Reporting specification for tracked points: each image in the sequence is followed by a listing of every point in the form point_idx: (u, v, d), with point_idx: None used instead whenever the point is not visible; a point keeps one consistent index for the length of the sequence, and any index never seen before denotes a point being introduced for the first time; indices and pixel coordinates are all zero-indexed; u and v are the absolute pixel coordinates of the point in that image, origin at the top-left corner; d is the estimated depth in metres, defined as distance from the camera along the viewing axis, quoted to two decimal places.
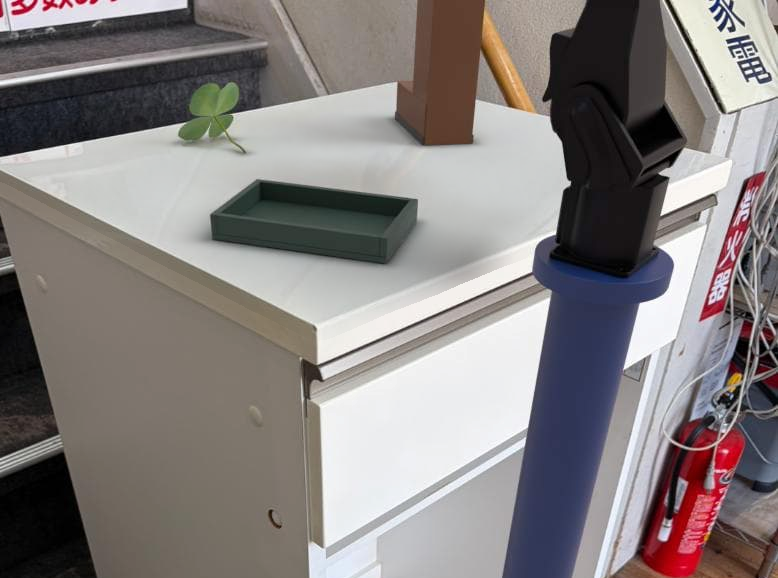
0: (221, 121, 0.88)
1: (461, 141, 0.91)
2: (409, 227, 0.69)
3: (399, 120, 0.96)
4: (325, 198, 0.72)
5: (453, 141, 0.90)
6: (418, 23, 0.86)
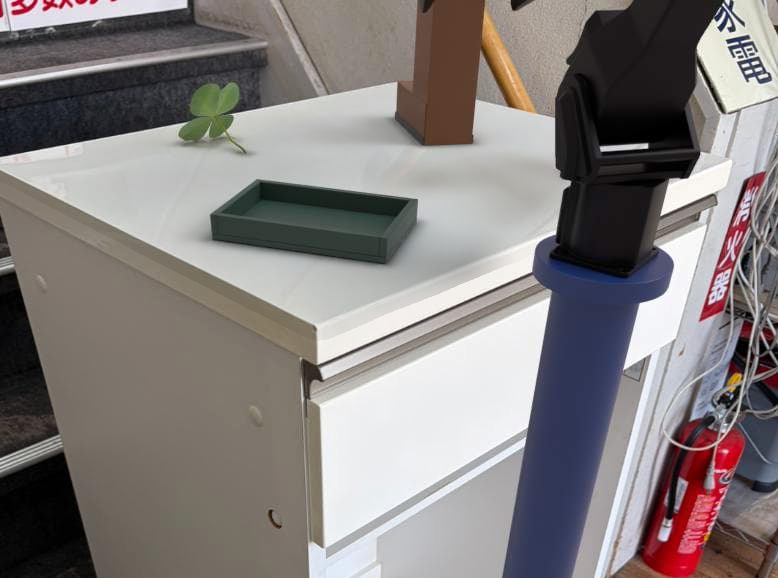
0: (221, 122, 0.88)
1: (461, 141, 0.91)
2: (409, 227, 0.69)
3: (399, 120, 0.96)
4: (325, 198, 0.72)
5: (453, 141, 0.90)
6: (418, 23, 0.86)
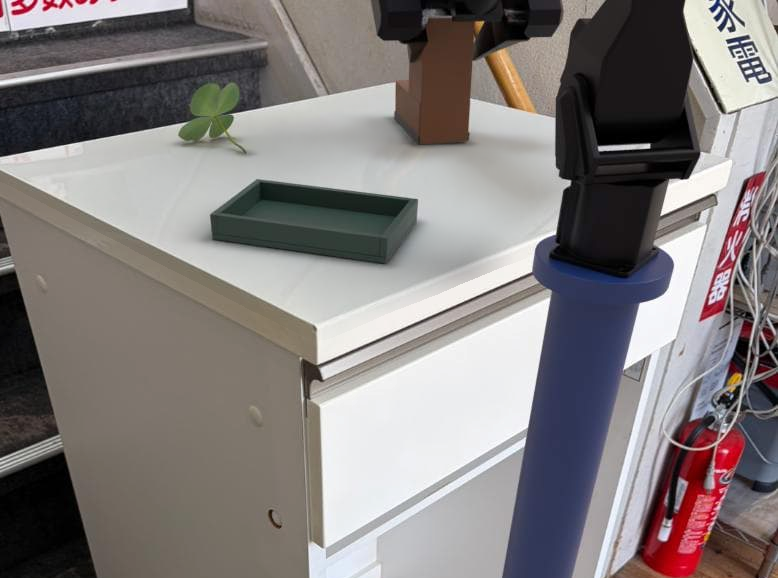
0: (222, 122, 0.88)
1: (457, 139, 0.90)
2: (409, 227, 0.69)
3: (398, 120, 0.96)
4: (325, 198, 0.72)
5: (449, 139, 0.90)
6: None
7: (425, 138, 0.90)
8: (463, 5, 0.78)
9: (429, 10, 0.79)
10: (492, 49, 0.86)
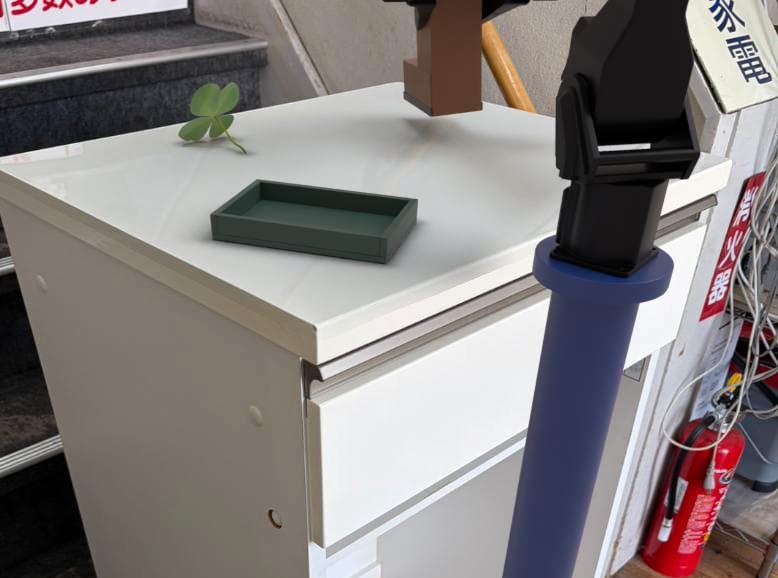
0: (222, 122, 0.88)
1: (470, 109, 0.88)
2: (409, 227, 0.69)
3: (407, 99, 0.95)
4: (325, 198, 0.72)
5: (462, 110, 0.88)
6: None
7: (438, 110, 0.87)
8: None
9: None
10: (490, 15, 0.83)
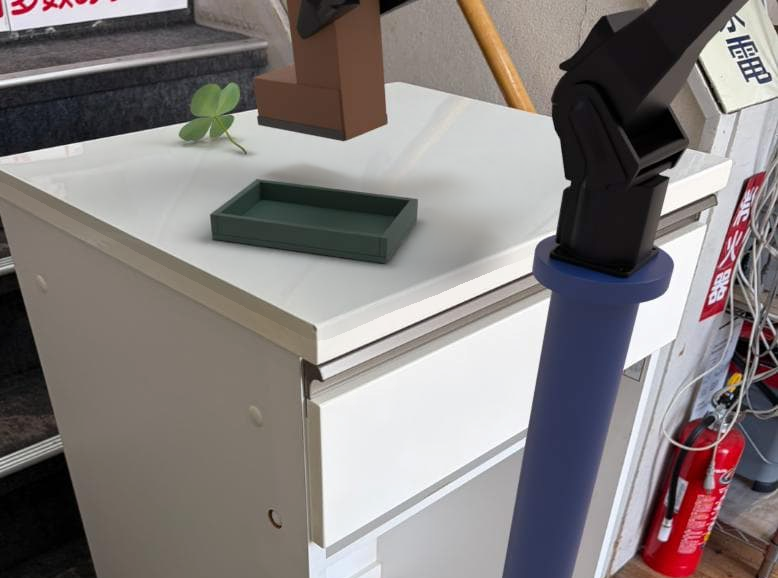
0: (222, 122, 0.88)
1: (378, 125, 0.74)
2: (409, 227, 0.69)
3: (272, 124, 0.77)
4: (325, 198, 0.72)
5: (371, 127, 0.73)
6: None
7: (350, 132, 0.72)
8: None
9: None
10: (388, 11, 0.69)
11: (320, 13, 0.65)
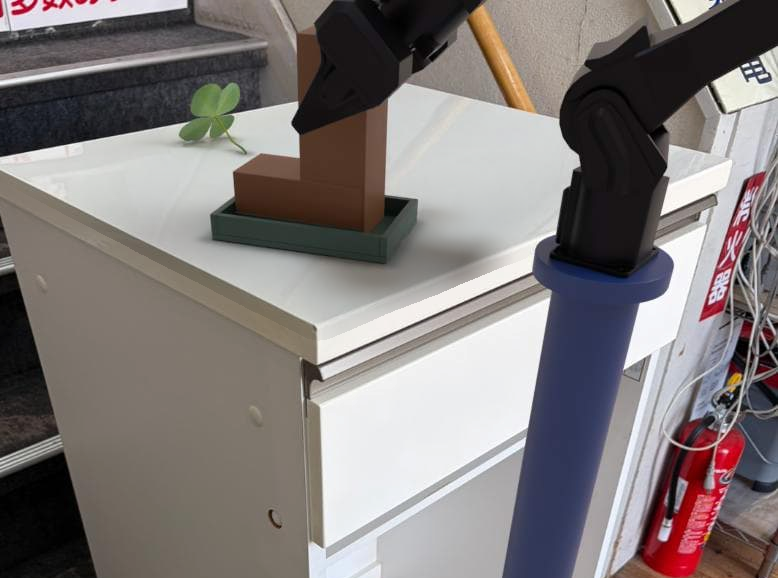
0: (222, 122, 0.88)
1: (379, 220, 0.70)
2: (409, 227, 0.69)
3: None
4: None
5: (376, 223, 0.69)
6: (306, 86, 0.61)
7: (366, 230, 0.67)
8: (436, 35, 0.57)
9: None
10: None
11: (335, 109, 0.57)
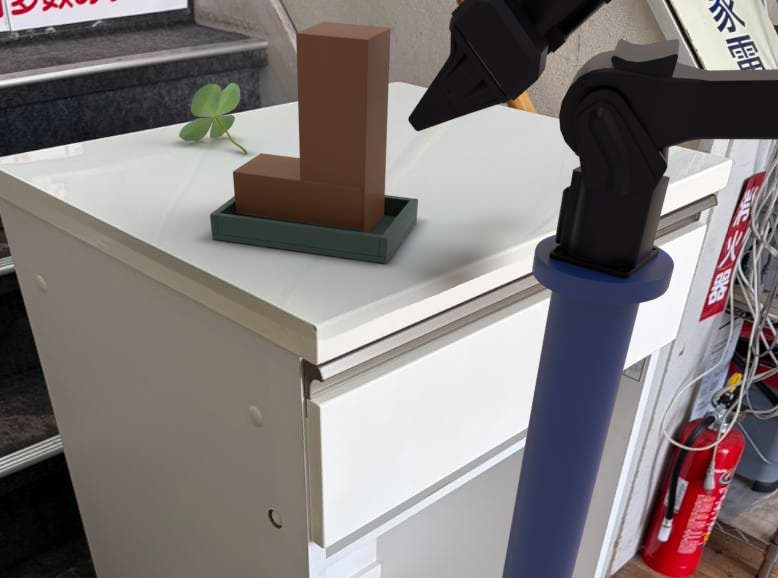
0: (222, 122, 0.88)
1: (379, 220, 0.70)
2: (409, 227, 0.69)
3: None
4: None
5: (376, 223, 0.69)
6: (306, 86, 0.61)
7: (366, 230, 0.67)
8: (567, 27, 0.54)
9: None
10: None
11: (460, 104, 0.55)
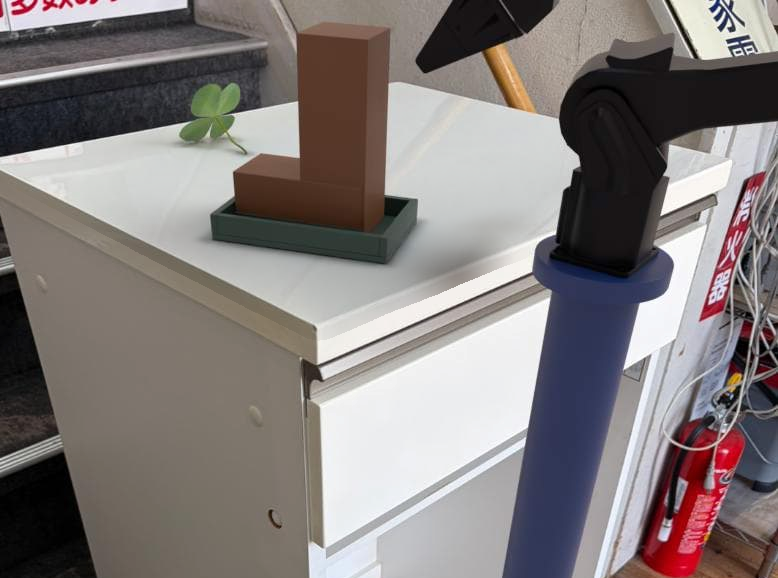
0: (222, 122, 0.88)
1: (379, 220, 0.70)
2: (409, 227, 0.69)
3: None
4: None
5: (376, 223, 0.69)
6: (306, 86, 0.61)
7: (366, 230, 0.67)
8: None
9: None
10: None
11: (470, 42, 0.53)
